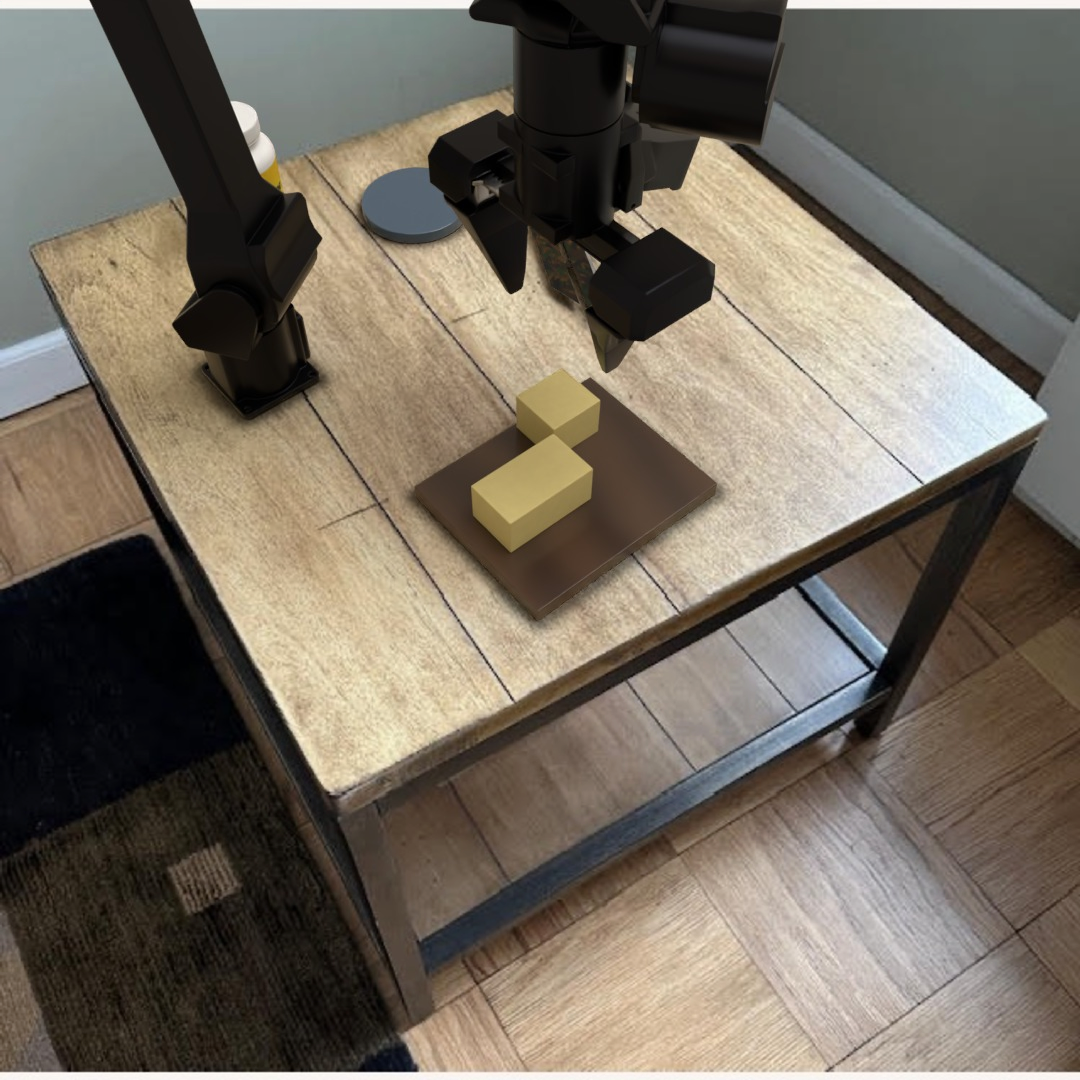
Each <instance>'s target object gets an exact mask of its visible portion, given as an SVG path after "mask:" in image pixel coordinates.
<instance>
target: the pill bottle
mask: <svg viewBox="0 0 1080 1080" xmlns="http://www.w3.org/2000/svg"><path fill="white" fill-rule="evenodd" d="M230 102H231V104H232V107H233V109H234V112H235V114H236V117H237V119H238V122H239V124H240V127H241V129H242V132H243V134H244V137H245V139H246V142H247V144H248V147H249V149H250V152H251V154H252V157H253V159H254V162H255V164H256V167H257V169H258V171H259V173H260V175H261V177H262V178H264V179H265V180H267V181H268V182H269V183H271V184H272V185H274V186H275V187H276V188H278V189H279V190H281V191H282V192H283V193H284V189H283V188H284V187H283V183H282V177H281V173H280V169H279V164H278V159H277V154H276V150H275V147H274V145H273V142H272V141H271V140H270V138H269V137H268V136H267V135H266V134H265V133H263V132H262V131H261V123H260V120H259V117H258V113H257V112H256V110H255V108H254V107H252V106H251V105H249V104H247V103H246V102H245V103H244V102H241V101H235V100H230Z"/></svg>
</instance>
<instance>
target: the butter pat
mask: <svg viewBox="0 0 1080 1080" xmlns="http://www.w3.org/2000/svg"><path fill="white" fill-rule="evenodd" d="M580 383H581V382H580V381H578V380H577V379H576V378H575V377H574V376H572V375H571V374H570V373H569V372H568V371H566V369H564V368H563V367H561V368H560V369H559V370H556V371H555V372H553V373H552V374H550V375H548V376H547V377H545V378H543V379H542V380H540V381H538V382H537V383H535V384H534V385H531V386H530V387H529V388H527V389H525V390H523V391H522V392H520V393H519V394H517V395H516V396H515V402H516V403H515V415H516V417H515V419H516V421H515V422H516V423H515V424H516V427H517V428H518V429H519V430H520V431H521V432H522V433H524V434H525V435H526V436H527V437H528V438H529V439H530V440H531V441H532V442H533V443H535V444H538V443H539V442H541V441H542V440H544V439H546V438H547V437H549V436H550V435H552V434H555V435H556V436H557V437H558V438H559V439H560V440H561V441H562V442H564V443H565V444H566V445H567V446H568V447H569V448H570V449H571V448H573V447H574V446H576V445H577V444H579V443H581V442H582V441H584V440H585V439H587V438H588V437H590V436H591V435H593V434H595V433H596V432H598V424H599V411H600V400H599V399H598V398H597V397H596V396H595V395H593V394H592V393H591V392H590V391H589V390H588V389H586V388H585V387H584V386H583V385H582V384H580Z"/></svg>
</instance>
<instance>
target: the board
mask: <svg viewBox="0 0 1080 1080" xmlns="http://www.w3.org/2000/svg"><path fill="white" fill-rule="evenodd" d="M579 383H580V384H582V385H583V386H584V387H585V388H586V389H588V390H589V391H590V392H591V393H592V394H593V395H595V396H596V397H597V398H598V399H599V400H600V411H599V424H598V432H596V433H595V434H593V435H591V436H590V437H588V438H587V439H585V440H584V441H582V442H581V443H579V444H577V445H576V446H574V447H573V448H571V450H573V451H574V452H575V453H576V454H577V455H578V456H579V457H580V458H582V459H583V460H584V461H585V462H586V463H587V464H588V465H589V466H590V467H592V468H593V476H592V490H591V499H590V500H588V501H587V502H585V503H584V504H582V505H581V506H579V507H578V508H576V509H575V510H573V511H572V512H570V513H569V514H567V515H566V516H564V517H563V518H562V519H560V520H559V521H557V522H556V523H554V524H553V525H551V526H550V527H548V528H547V529H545V530H544V531H542V532H541V533H539V534H538V535H536V536H535V537H533V538H532V539H531V540H529V541H528V542H526V543H525V544H523V545H522V546H520V547H519V548H517V549H516V550H514V551H513V552H509V551H508V550H507V549H506V548H505V547H504V546H503V545H502V544H501V543H500V542H499V541H498V540H497V539H496V538H495V537H494V536H493V535H492V534H491V533H490V532H489V531H488V530H487V529H486V528H485V527H484V526H483V525H482V524H481V523H480V522H479V521H478V520H477V519H476V518H475V517H474V516H473V507H472V492H471V486H472V485H473V484H475V483H476V482H478V481H480V480H481V479H483V478H484V477H486V476H487V475H489V474H491V473H492V472H494V471H495V470H497V469H498V468H500V467H502V466H503V465H505V464H506V463H508V462H509V461H511V460H513V459H514V458H516V457H517V456H519V455H520V454H522V453H524V452H525V451H527V450H528V449H530V448H531V447H533V446H535V445H536V444H535V443H533V442H532V441H531V440H530V439H529V438H528V437H527V436H526V435H525V434H524V433H522V432H521V431H520V430H519V429H518V428H517V427H516V423H514V424H513V425H511V426H509V427H507V428H505V430H503V431H501V432H499V433H498V434H496V435H495V436H493V437H491V438H489V439H488V440H487V441H485V442H483V443H482V444H480V445H479V446H477V447H475V448H473V449H472V450H470V451H469V452H468V453H466V454H464V455H463V456H461V457H459V458H458V459H456V460H454V461H453V462H451V463H449V464H448V465H446V466H445V467H443V468H442V469H440V470H438V471H437V472H435V473H433V474H431V475H429V477H427V478H425V479H424V480H422V481H421V482H419V483H417V484H416V485H414V487H413V488H414V494H415V495H414V496H415V498H416V499H417V501H419V502H420V503H421V504H422V505H423V506H424V507H425V508H426V509H427V510H428V512H429V513H431V515H433V516H434V518H435V519H436V520H437V521H439V523H440V524H442V526H443V527H444V528H445V529H447V531H448V532H449V533H450V534H451V535H452V536H453V537H454V538H455V539H456V540H457V541H458V542H459V543H460V544H461V545H462V546H463V547H464V548H465V549H466V550H467V551H468V552H469V553H470V554H471V555H472V556H473V558H475V559H476V560H477V561H478V562H479V563H480V564H481V565H482V567H484V568H485V569H486V571H488V572H489V574H490V575H492V577H494V578H495V579H496V580H497V582H498V583H499V584H500V585H501V586H503V587H504V589H505V590H507V591H508V593H509V594H510V595H511V596H512V597H513V598H514V599H515V600H516V601H517V602H518V603H519V604H520V605H521V606H522V608H524V609H525V610H526V611H527V612H528V613H529V614H530V615H531V616H532V617H533V618H534V619H535V620H536V621H537V622H539V621H540V620H541V619H543V618H544V617H546V616H547V615H549V614H550V613H551V612H553V611H555V610H556V609H557V608H559V607H560V606H561V605H562V604H564V603H566V602H567V601H568V600H570V599H571V598H572V597H574V596H575V595H577V594H578V593H579V592H581V591H582V590H584V589H585V588H586V587H588V586H590V585H591V584H592V583H593V582H595V581H596V580H597V579H599V578H600V577H602V576H604V574H605V573H607V572H608V571H609V570H611V569H612V568H614V567H616V566H617V565H618V564H619V563H621V562H622V561H624V560H626V558H628V557H629V556H631V555H632V554H633V553H635V552H636V551H638V550H640V549H641V548H642V547H644V546H645V545H647V543H649V542H650V541H651V540H653V539H654V538H656V537H658V536H659V535H661V533H663V532H664V531H666V530H667V529H668V528H670V527H671V526H673V525H674V524H676V523H677V522H678V521H680V520H681V519H683V518H684V517H686V515H688V514H690V513H691V512H693V511H694V510H695V509H696V508H698V507H700V506H701V505H702V504H703V503H704V502H706V501H707V500H709V499H710V498H712V497H713V496H714V495H716V493H717V492H716V491H717V488H718V482H716V481H715V480H714V479H713V478H712V477H711V476H709V475H708V474H707V473H706V472H704V471H703V470H702V469H701V468H700V467H699V466H698V465H696V464H695V463H694V462H693V461H692V460H690V459H689V458H688V457H687V456H685V455H684V454H683V453H682V452H681V451H680V450H679V449H677V448H676V447H675V446H674V445H672V444H671V443H670V442H669V441H667V439H665V438H664V437H662V436H661V434H659V433H658V432H657V431H656V430H655V429H653V428H652V427H651V426H650V425H648V423H646V422H645V421H644V420H642V418H640V417H639V416H637V415H636V414H635V413H634V412H633V411H632V410H630V409H629V408H628V407H627V406H626V405H624V404H623V402H621V401H620V400H618V399H617V398H616V397H615V396H614V395H612V394H611V392H609V391H608V390H607V389H606V388H604V387H603V386H602V385H600V383H598V382H597V381H596V380H595V379H593V377H591V376H589V377H588V378H587V379H585V380H583V381H581V382H579Z"/></svg>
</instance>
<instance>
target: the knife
mask: <svg viewBox="0 0 1080 1080" xmlns="http://www.w3.org/2000/svg"><path fill="white" fill-rule="evenodd" d="M529 228H530V232H531V234H532V237H533V239H534V242H535V245H536V248H537V251H538V254H539V257H540V259H541V263H542V266H543V268H544V271H545V273H546V277H547V280H548V283H549V285H550V287H551V288H552V289H554V290H555V291H557V292H559V293H561V294H562V295H564V296H565V297H566V298H569V300H572V301H574V302H575V303H577V304H579V305H580V304H581V303H580V300H579V298H578V294H577V291H576V289H575V287H574V284H573V282H572V279H571V276H570V272H569V269H570V270H571V269H572V271H573V272H572V273H573V274H574V277H575V280H576V283H577V286H578V288H579V291H580V294H581V296H582V299H583V302H584V304H585V307H586V309H587V308H588V307H590V306H592V304H591V302H590V300H589V298H588V289H589V281H590V279H591V278H592V276H593V275H594V273H595V272H596V269H595V265H594V262H593V261H592V259H591V255H589V254H588V253H587V252H586V251H584V250H583V249H582V248H580V247H579V246H578V245H576V244H575V243H574V242H572V241H571V240H570V239H566V240H564V241H563V242H562V245H563V247H564V250H565V253H566V255H567V259H568V261H566V262H565V259H564V257H563V254H562V251H561V248H560V245H559V244H557V245H555V246H554V245H553V244H552V243H550V242H549V241H548V240H547V239H545V238H544V237H543V236H541V235H540V234H539V233H538V232H536V231H535V230H534V229H532V228H531V227H530V226H529Z"/></svg>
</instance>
